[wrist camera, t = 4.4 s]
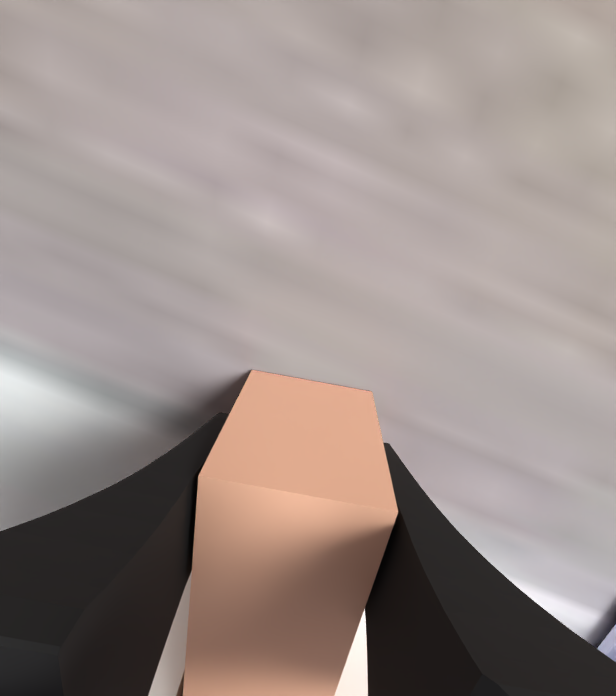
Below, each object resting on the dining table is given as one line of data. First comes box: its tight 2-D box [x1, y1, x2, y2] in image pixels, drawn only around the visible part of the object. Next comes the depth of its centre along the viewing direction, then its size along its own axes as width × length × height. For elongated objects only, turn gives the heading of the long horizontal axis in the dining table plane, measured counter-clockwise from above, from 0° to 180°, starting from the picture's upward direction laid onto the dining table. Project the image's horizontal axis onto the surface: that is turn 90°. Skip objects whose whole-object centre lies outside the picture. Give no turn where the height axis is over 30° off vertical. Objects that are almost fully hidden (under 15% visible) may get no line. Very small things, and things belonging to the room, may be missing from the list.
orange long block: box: [183, 370, 398, 696], centre depth 12 cm, size 4×16×5 cm, turn 170°
